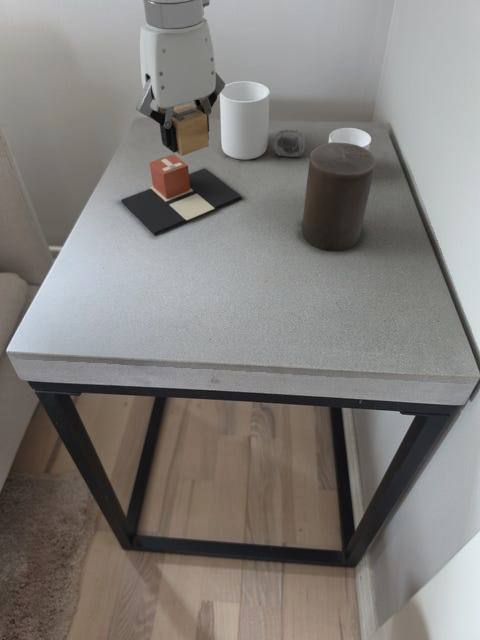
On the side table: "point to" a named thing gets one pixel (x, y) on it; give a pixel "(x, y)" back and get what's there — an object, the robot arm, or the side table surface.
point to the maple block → (190, 129)
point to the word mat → (181, 202)
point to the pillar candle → (337, 195)
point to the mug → (244, 119)
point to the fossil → (289, 143)
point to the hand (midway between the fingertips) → (186, 142)
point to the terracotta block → (170, 176)
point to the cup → (351, 137)
